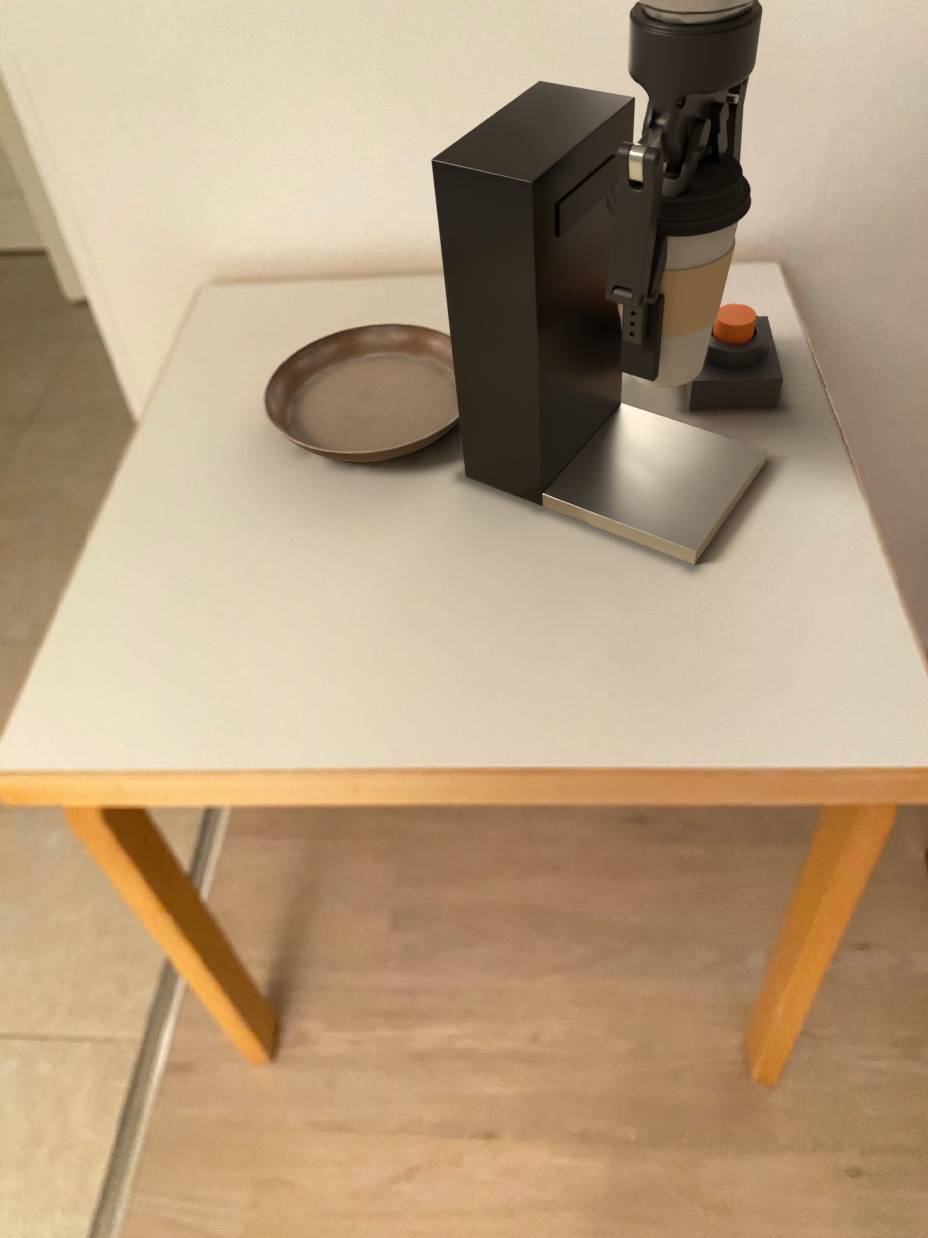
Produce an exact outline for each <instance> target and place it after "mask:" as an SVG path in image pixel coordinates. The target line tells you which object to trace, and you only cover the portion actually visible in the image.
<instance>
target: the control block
mask: <svg viewBox="0 0 928 1238" xmlns="http://www.w3.org/2000/svg"><path fill="white" fill-rule="evenodd" d="M714 321H715V320H714ZM713 329H714V324H713V328H712V332H711V336H710V340H709V344H708V348H707V352H706V356H705V360H704V364H703V368H702V370H701V372H700V374H699V375H698V376H697V377H696V378H694V379H693V380H691V381H690V382H688V383H685V384H684V385H685V392H686V398H687V404H688V410H689V411H694V410H724V409H725V410H728V409H733V410H735V409H763V408H778V407H779V404H780V403H779V402H780V398H781V393H782V388H783V383H784V376H783V371H782V368H781V363H780V359H779V355H778V351H777V347H776V344H775V340H774V336H773V333H772V328H771V324H770V319H769V316H768V315H757V314H756V322H755V328H754V334H753V338H752V339H751V340H750V341H748V342H745V343H743V344H728V343H725V342H721V341H718V340H717V339H716V338H714V336H713Z"/></svg>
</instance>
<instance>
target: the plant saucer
mask: <svg viewBox="0 0 928 1238" xmlns="http://www.w3.org/2000/svg"><path fill="white" fill-rule="evenodd" d="M262 405H263V411H264V413H265V416H266V418H267V419H268V421H269V423H270V424H271V425H272V427H273V428H274V429H275V430H276V431H277V432H278V433H279V434H281V436H283V437H284V438H285V439H287V440H288V441H290V442H291V443H293V444H294V445H296V446H297V447H299V448H301V449H303V450H305V451H308V452H310V453H312V454H314V455H317V456H321V457H324V458H328V459H332V460H337V461H344V462H351V463H352V462H353V463H356V462H357V463H359V462H360V463H369V462H378V461H379V462H380V461H385V460H386V461H387V460H391V459H396V458H399V457H404V456H406V455H409V454H411V453H414V452H417V451H419V450H421V449H423V448H425V447H428V445H431V444H432V443H434V442H436V441H437V440H439V439H440V438H441V437H443V436H444V435H446V434H447V433H449V432H450V430H451V429H453V428H454V427H455V426H456V424H458V423H460V421H459V412H458V402H457V393H456V384H455V375H454V365H453V356H452V347H451V338H450V333H447V332H446V331H443V330H440V329H438V328H434V327H431V326H426V325H422V324H414V323H407V322H380V323H377V322H376V323H369V324H362V325H356V326H352V327H346V328H342V329H340V330H337V331H336V330H335V331H333V332H331V333H328V334H325V335H322V336H320V337H318V338H316V339H313V340H311V341H310V342H307V343H305V344H304V345H303V346H301V347H299V348H298V349H296V350H294V351H293V352H292V353H291V354H288V356H287V357H285V358H284V360H282V361H280V363H279V365H277V367H276V368H275V369H274V371H273V372H272V373H271V374H270V376H269V377H268V380H267V382H266V384H265V386H264V390H263V395H262Z"/></svg>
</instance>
